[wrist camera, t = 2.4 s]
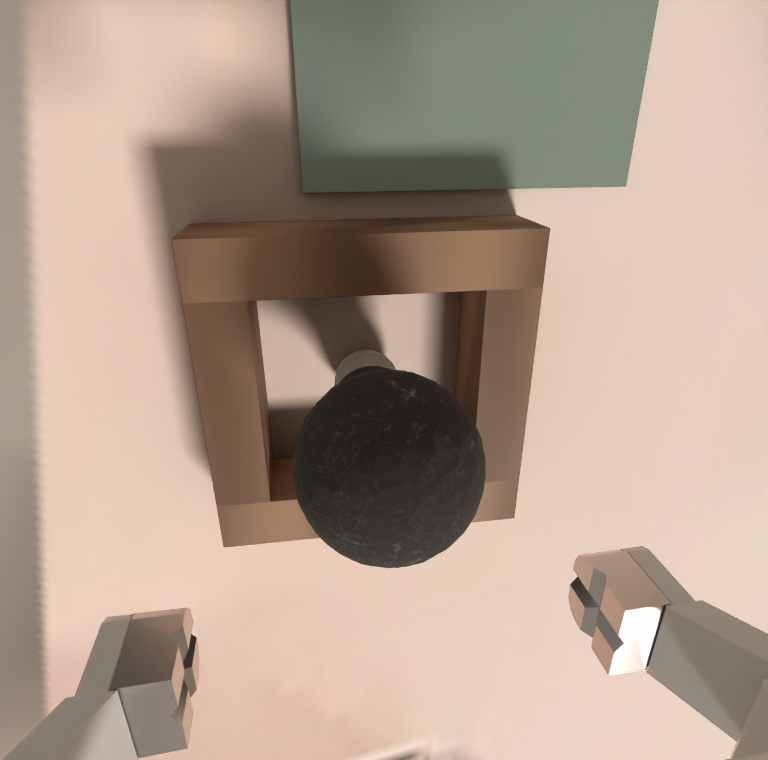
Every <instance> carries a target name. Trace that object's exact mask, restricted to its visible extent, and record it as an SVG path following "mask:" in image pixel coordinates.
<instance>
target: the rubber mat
mask: <svg viewBox="0 0 768 760" xmlns="http://www.w3.org/2000/svg"><path fill="white" fill-rule="evenodd" d="M658 2H659V0H290V6H291V22H292V37H293V52H294V68H295V83H296V98H297V114H298V129H299V144H300V160H301V175H302V191H303V193H318V192H369V191H420V190H471V189H522V188H572V187H623V186H626V183H627V177H628V171H629V166H630V160H631V155H632V149H633V143H634V138H635V132H636V126H637V121H638V115H639V109H640V104H641V98H642V92H643V87H644V81H645V75H646V70H647V64H648V58H649V53H650V47H651V42H652V36H653V30H654V25H655V19H656V13H657V8H658Z"/></svg>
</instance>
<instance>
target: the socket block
mask: <svg viewBox="0 0 768 760" xmlns="http://www.w3.org/2000/svg"><path fill="white" fill-rule="evenodd" d="M549 233H550V228H548V227H545V226H543V225H540V224H538V223H535V222H533V221H530V220H528V219H525V218H523V217H520V216H518V215H507V216H469V217H431V218H393V219H355V220H316V221H278V222H240V223H202V224H189V225H188V226H187V227H185V228H184V229H183V230H182V231H181V232H180V233H179V234H177V235H176V236H175V237H174V238H173V239H172V246H173V252H174V257H175V263H176V269H177V275H178V281H179V287H180V293H181V299H182V305H183V310H184V316H185V322H186V328H187V334H188V340H189V346H190V352H191V358H192V363H193V369H194V375H195V381H196V387H197V393H198V399H199V405H200V411H201V416H202V422H203V428H204V434H205V440H206V446H207V452H208V458H209V464H210V470H211V475H212V481H213V487H214V493H215V499H216V505H217V511H218V517H219V523H220V528H221V534H222V540H223V546H224V547H233V546H243V545H253V544H262V543H272V542H282V541H292V540H302V539H312V538H320V537H319V536H318V535H317V534H316V533H315V531H314V530H313V528H312V527H311V525H310V524H309V523H308V521H307V519H306V517H305V515H304V513H303V512H302V510H301V508H300V506H299V503H298V501H297V495H296V491H295V486H294V482H293V464H292V463H293V457H291V458H279V459H274V458H273V449H272V440H271V431H270V421H269V412H268V403H267V394H266V385H265V375H264V366H263V357H262V348H261V339H260V329H259V320H258V311H257V302H256V300H278V299H301V298H323V297H346V296H368V295H391V294H413V293H436V292H458V291H461V308H460V325H459V342H458V359H457V376H456V393H455V398H456V399H457V400H458V401H459V402H460V404H461V405H462V406H463V407H464V408H465V409H466V410H467V411H468V413H469V414H470V415H471V417H472V419H473V422H474V424H475V426H476V428H477V430H478V431H479V434H480V436H481V439H482V444H483V449H484V454H485V459H486V479H485V485H484V491H483V495H482V498H481V501H480V504H479V507H478V510H477V513H476V516H475V517H474V519H473V520H472V521H471V522H480V521H490V520H500V519H510V518H514V515H515V507H516V499H517V491H518V483H519V475H520V467H521V459H522V451H523V442H524V434H525V426H526V418H527V410H528V402H529V394H530V386H531V378H532V370H533V362H534V354H535V346H536V338H537V330H538V322H539V314H540V306H541V298H542V290H543V281H544V273H545V265H546V257H547V249H548V241H549Z"/></svg>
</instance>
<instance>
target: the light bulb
mask: <svg viewBox="0 0 768 760" xmlns="http://www.w3.org/2000/svg"><path fill="white" fill-rule="evenodd" d="M292 464H293V482H294V486H295V491H296V495H297V501H298V503H299V506H300V508H301V510H302V512H303V513H304V515H305V517H306V519H307V521H308V523H309V524H310V525H311V527H312V528H313V530H314V531H315V533H316V534H317V535H318V536H319V537H320V538H321V539H322V540H323V541H324V542H325V543H326V544H327V545H329V546H330V547H331V548H333V549H334V550H335V551H337V552H338V553H340V554H341V555H343V556H345V557H347V558H349V559H351V560H353V561H356V562H358V563H361V564H364V565H369V566H376V567H384V568H399V567H406V566H411V565H415V564H419V563H422V562H425V561H427V560H428V559H430V558H432V557H434V556H435V555H437V554H439V553H441V552H443V551H444V550H446V549H447V548H449V547H450V546H451V545H452V544H453V543H454V542H455V541H456V540H457V539H458V538H459V537H460V536H461V535H462V534H463V533H464V532H465V530H466V529H467V527H468V526H469V524H470V523H471V521H472V520H473V519H474V517H475V516H476V513H477V510H478V507H479V504H480V501H481V498H482V495H483V491H484V485H485V479H486V459H485V454H484V449H483V444H482V439H481V436H480V434H479V431H478V430H477V428H476V426H475V424H474V422H473V419H472V417H471V415H470V414H469V413H468V411H467V410H466V409H465V408H464V407H463V406H462V405H461V404H460V402H459V401H458V400H457V399H456V398H455V397H454V396H453V395H452V394H451V393H450V392H449V391H447V390H446V389H445V388H443V387H442V386H440V385H439V384H437V383H436V382H434V381H432V380H430V379H427V378H425V377H422V376H420V375H417V374H415V373H412V372H407V371H400V370H396V369H395V367H394V365H393V363H392V362H391V361H390V360H389V359H388V358H387V357H386V356H384V355H383V354H381V353H380V352H377V351H374V350H360V351H356V352H353V353H351V354H349V355H348V356H346V357H345V358H344V359H343V360H342V361H341V363H340V364H339V366H338V368H337V371H336V376H335V386H334V387H333V388H331V389H330V390H329V391H328V392H327V393H326V394H325V395H324V396H323V397H322V398H321V399H320V400H319V401H318V403H317V404H316V405H315V406H314V407H313V409H312V410H311V411H310V413H309V414H308V415H307V417H306V418H305V420H304V423H303V424H302V427H301V430H300V432H299V435H298V437H297V441H296V445H295V450H294V456H293V463H292Z"/></svg>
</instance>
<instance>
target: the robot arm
mask: <svg viewBox="0 0 768 760" xmlns="http://www.w3.org/2000/svg"><path fill="white" fill-rule="evenodd" d="M573 570H574V571H575V573H576V574H577V576H578V577H577V578H576V579H575V580H574V581H573V582H572V583H571V584H570V590H569V603H570V609H571V612H572V614H573V617H574V620H575V621H576V623H577V625H578V626H579V628H580V630H582V631H583V632H585V633H586V634H588V635H589V636H591V637H593V639H592V647H591V648H592V649H593V651H594V653H595V654H596V656H597V658H598V659H599V661H600V662H601V664H602V666H603V667H604V669H605V670H606V672H607V674H608V675H615V674H623V673H630V672H637V671H644V670H647V673H648V674H649V675H651V676H652V677H653V678H655V679H656V680H657V681H659V682H660V683H661V684H663V685H664V686H665V687H666V688H668V689H669V690H670V691H672V692H673V693H674V694H676V695H677V696H678V697H679V698H681V699H682V700H683V701H685V702H686V703H687V704H689V705H690V706H691V707H692V708H694V709H695V710H696V711H698V712H699V713H700V714H702V715H703V716H704V717H705V718H707V719H708V720H709V721H711V722H712V723H713V724H715V725H716V726H717V727H718V728H720V729H721V730H722V731H724V732H725V733H726V734H728V735H729V736H730V737H732V738H733V739H734V740H735V741H737V743H736V745H735V748H734V750H733V752H732V755H731V757H730V759H727V760H768V634H767V633H765V632H763V631H761V630H759V629H757V628H755V627H753V626H751V625H749V624H747V623H745V622H743V621H741V620H739V619H737V618H736V617H734V616H732V615H730V614H728V613H726V612H724V611H722V610H720V609H718V608H716V607H714V606H712V605H710V604H708V603H706V602H704V601H702V600H701V601H695V600H694V599H693V598H692V597H691V596H690V595H689V593H688V592H687V591H686V590H685V589H684V588H683V587H682V586H681V585H680V584H679V582H678V581H677V580H676V579H675V578H674V577H673V576H672V575H671V574H670V572H669V571H668V570H667V569H666V568H665V567H664V566H663V565H662V564H661V562H660V561H659V560H658V559H657V558H656V557H655V556H654V555H653V554H652V553H651V551H650V550H649V549H647V548H645V547H643V546H640V547H633V548H626V549H621V550H612V551H605V552H598V553H591V554H584V555H579V556H578V557H577V558H576V560H575V563H574V568H573ZM192 626H193V618H192V614H191V610H190V609H189V608H181V609H172V610H162V611H153V612H144V613H135V614H130V615H121V616H112V617H107V618H106V619H105V620H104V622H103V623H102V624H101V626H100V629H99V632H98V635H97V637H96V640H95V643H94V645H93V648H92V651H91V653H90V656H89V659H88V662H87V664H86V667H85V670H84V672H83V675H82V678H81V681H80V683H79V686H78V689H77V691H76V694H75V696H74V697H68V698H65V699H64V700H63V701H62V702H61V703H60V704H59V705H58V706H57V707H56V708H55V709H54V710H53V711H52V712H51V713H50V714H49V715H48V716H47V717H46V718H45V719H44V720H43V721H42V722H41V723H40V724H38V725H37V727H35V728H34V729H33V730H32V731H31V732H30V733H29V734H28V735H27V736H26V737H25V738H24V739H23V740H22V741H21V742H20V743H19V744H18V745H17V746H16V747H15V748H14V749H13V750H12V751H11V752H10V753H9V754H8V755H7V756H6V757H5V758H4V759H3V760H138V758H142V757H147V756H152V755H157V754H162V753H167V752H172V751H177V750H182V749H187V748H188V743H189V737H190V731H191V724H192V718H193V709H192V704H191V699H190V697H191V696H192V695H193V694H194V693H195V691H196V690H197V684H198V677H199V649H198V643H197V638H196V637H195V636H193V635H192V634H191V632H192Z"/></svg>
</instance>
